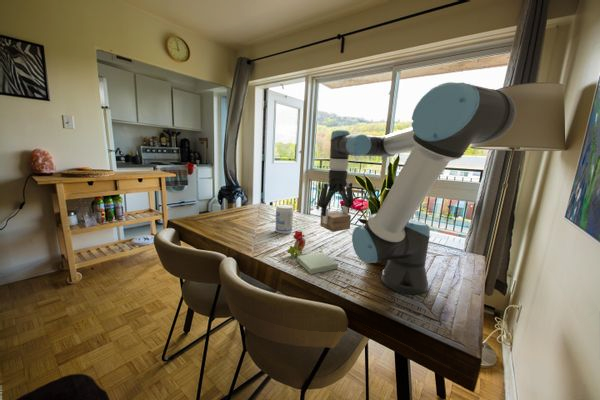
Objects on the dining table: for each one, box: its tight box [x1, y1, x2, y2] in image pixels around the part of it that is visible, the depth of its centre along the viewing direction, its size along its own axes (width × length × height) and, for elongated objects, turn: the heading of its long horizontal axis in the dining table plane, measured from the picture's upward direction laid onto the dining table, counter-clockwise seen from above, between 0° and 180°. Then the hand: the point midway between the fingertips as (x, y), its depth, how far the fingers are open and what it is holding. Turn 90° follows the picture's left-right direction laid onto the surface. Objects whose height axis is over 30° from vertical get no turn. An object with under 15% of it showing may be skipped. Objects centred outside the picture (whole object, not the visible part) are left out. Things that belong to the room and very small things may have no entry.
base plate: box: [296, 251, 339, 275], centre depth 98 cm, size 12×12×2 cm
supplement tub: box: [275, 204, 294, 235], centre depth 136 cm, size 10×10×15 cm
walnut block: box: [320, 210, 352, 233], centre depth 104 cm, size 9×9×6 cm
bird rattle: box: [287, 230, 306, 256], centre depth 107 cm, size 6×11×9 cm
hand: (334, 222), depth 104 cm, fingers closed on walnut block, 9 cm apart
